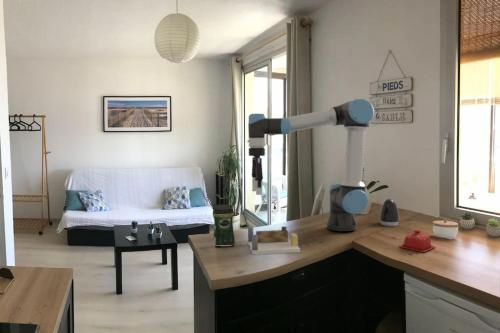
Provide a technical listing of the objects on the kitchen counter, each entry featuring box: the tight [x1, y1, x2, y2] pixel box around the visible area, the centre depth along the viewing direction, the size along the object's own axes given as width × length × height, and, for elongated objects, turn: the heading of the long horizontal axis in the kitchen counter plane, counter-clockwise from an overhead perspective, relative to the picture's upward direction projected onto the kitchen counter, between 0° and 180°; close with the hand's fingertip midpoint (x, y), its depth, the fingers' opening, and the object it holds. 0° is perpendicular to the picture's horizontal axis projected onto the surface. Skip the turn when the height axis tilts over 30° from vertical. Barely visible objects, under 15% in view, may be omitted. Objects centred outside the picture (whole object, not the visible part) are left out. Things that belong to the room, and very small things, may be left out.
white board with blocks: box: [247, 227, 301, 255], centre depth 168 cm, size 20×18×8 cm
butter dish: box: [398, 228, 436, 253], centre depth 164 cm, size 12×12×8 cm
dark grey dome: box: [379, 198, 401, 227], centre depth 207 cm, size 10×10×15 cm
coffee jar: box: [212, 204, 236, 246], centre depth 173 cm, size 10×8×19 cm
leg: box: [255, 226, 289, 243], centre depth 173 cm, size 14×3×6 cm, turn 97°
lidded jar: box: [432, 218, 459, 241], centre depth 179 cm, size 11×11×9 cm
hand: (257, 193), depth 179 cm, fingers open, 13 cm apart
